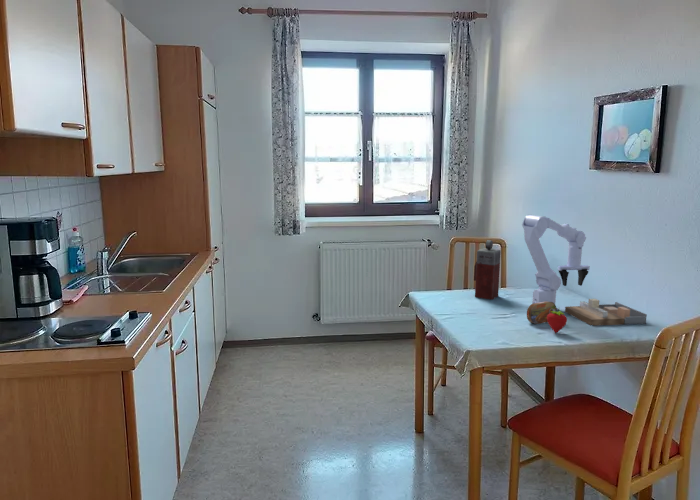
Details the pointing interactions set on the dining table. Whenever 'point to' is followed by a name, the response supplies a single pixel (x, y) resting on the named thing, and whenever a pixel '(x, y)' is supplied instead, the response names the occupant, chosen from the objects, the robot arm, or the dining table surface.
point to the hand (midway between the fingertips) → (572, 285)
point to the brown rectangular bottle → (487, 272)
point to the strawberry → (556, 320)
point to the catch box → (635, 315)
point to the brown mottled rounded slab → (540, 312)
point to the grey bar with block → (593, 307)
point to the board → (594, 316)
